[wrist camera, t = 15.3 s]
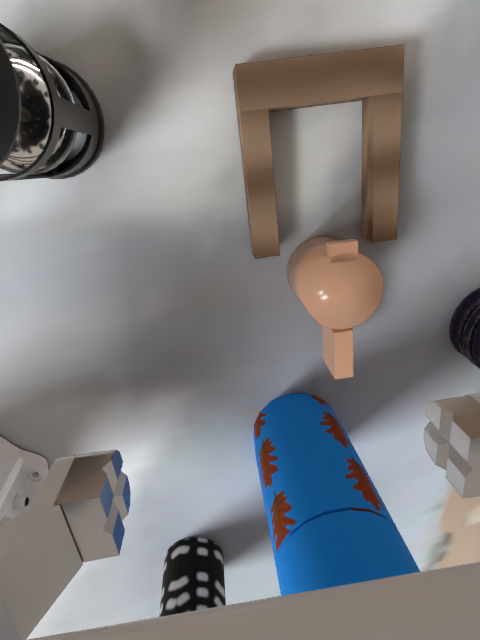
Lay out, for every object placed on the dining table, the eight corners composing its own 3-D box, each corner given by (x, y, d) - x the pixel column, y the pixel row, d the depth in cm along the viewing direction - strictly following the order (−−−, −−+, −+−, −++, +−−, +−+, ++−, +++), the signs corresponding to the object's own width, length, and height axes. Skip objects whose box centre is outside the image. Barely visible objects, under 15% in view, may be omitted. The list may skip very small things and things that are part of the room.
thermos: (353, 414, 49) (490, 640, 25) (304, 473, 51) (388, 724, 28) (282, 378, 46) (365, 596, 23) (235, 443, 49) (266, 695, 25)
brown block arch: (384, 234, 40) (396, 239, 38) (251, 252, 40) (255, 258, 37) (389, 53, 34) (404, 44, 31) (232, 71, 34) (235, 64, 31)
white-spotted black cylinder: (173, 532, 53) (158, 727, 35) (230, 542, 55) (244, 732, 36) (158, 573, 56) (137, 774, 38) (213, 580, 58) (218, 776, 39)
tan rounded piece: (283, 232, 39) (302, 248, 32) (350, 223, 39) (385, 237, 32) (292, 349, 44) (310, 386, 37) (351, 340, 45) (381, 375, 37)
